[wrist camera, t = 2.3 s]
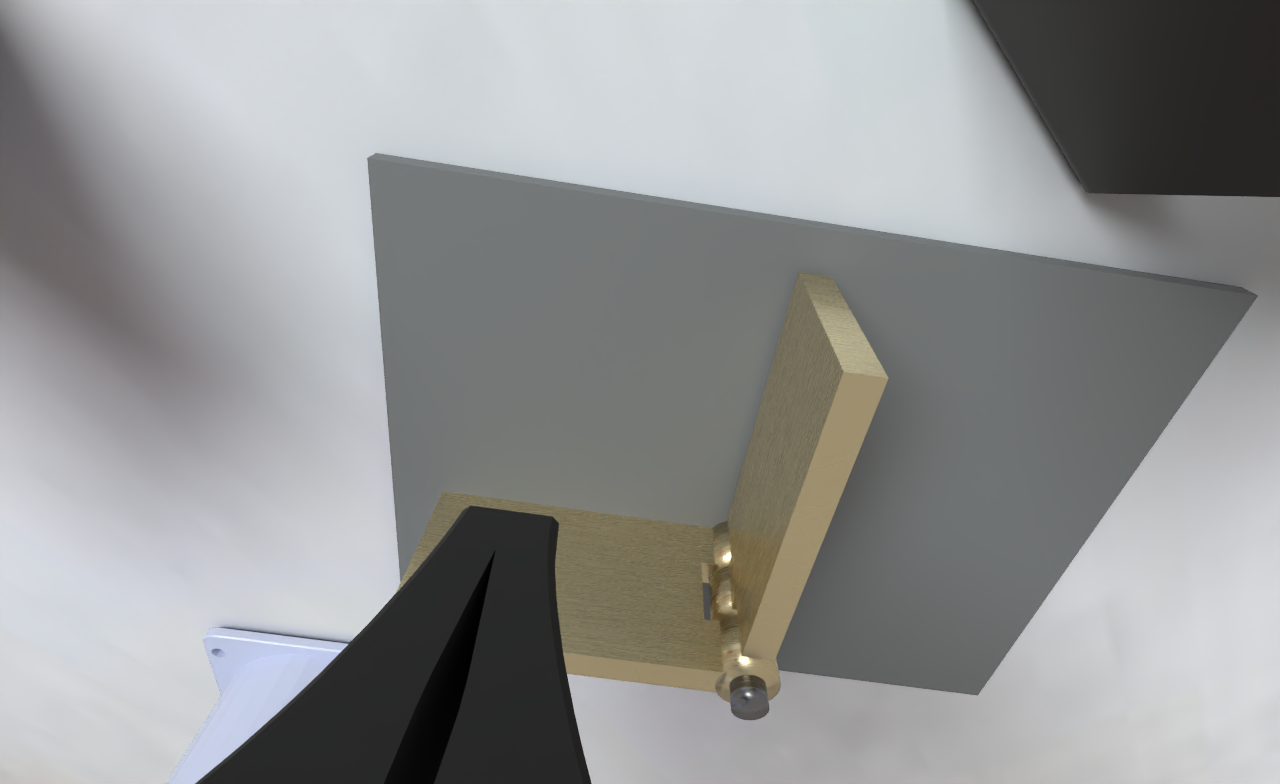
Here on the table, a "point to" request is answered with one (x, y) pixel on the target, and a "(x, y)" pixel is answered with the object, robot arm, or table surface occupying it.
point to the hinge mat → (735, 382)
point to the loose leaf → (796, 462)
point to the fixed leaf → (636, 601)
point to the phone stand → (1153, 90)
